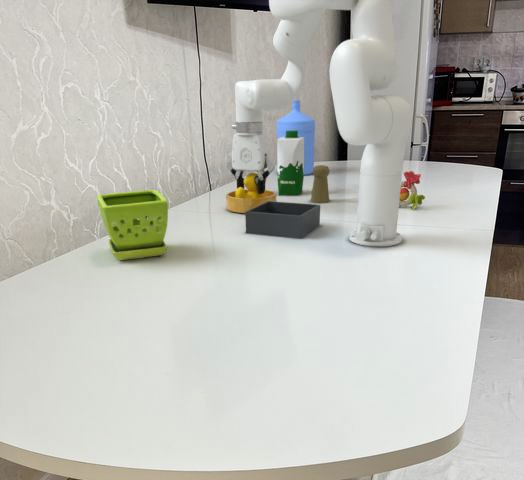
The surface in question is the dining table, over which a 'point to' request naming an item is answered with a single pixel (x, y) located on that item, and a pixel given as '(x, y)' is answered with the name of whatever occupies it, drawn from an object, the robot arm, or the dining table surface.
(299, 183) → the milk carton
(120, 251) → the flower pot
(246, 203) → the bowl
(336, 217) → the dining table surface
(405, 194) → the bird rattle
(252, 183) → the duckling
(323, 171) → the cork
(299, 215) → the bin
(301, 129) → the water jug
